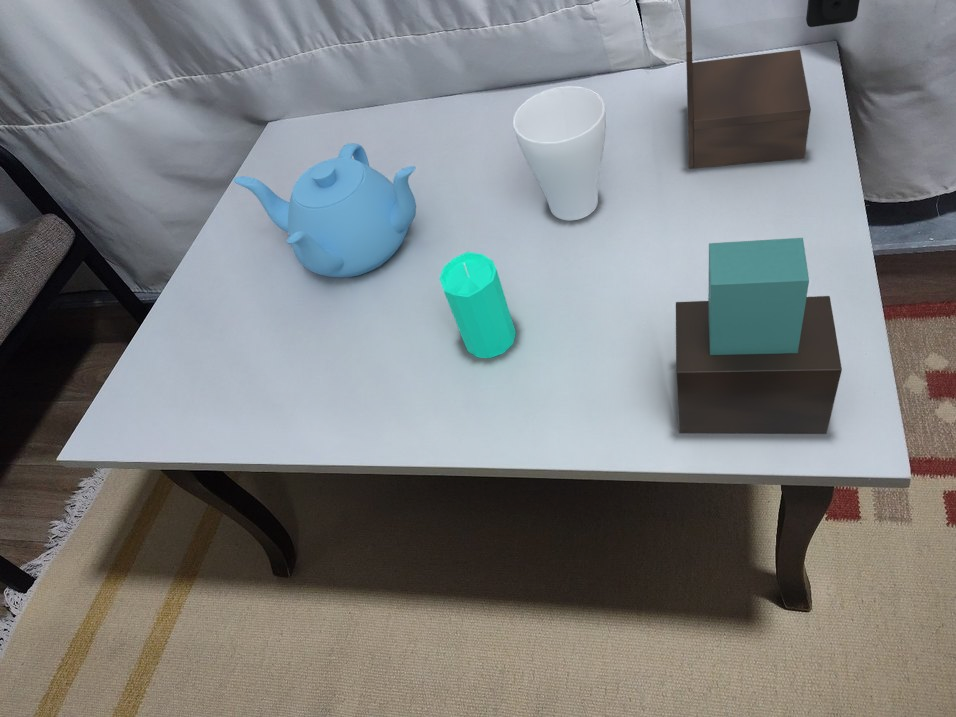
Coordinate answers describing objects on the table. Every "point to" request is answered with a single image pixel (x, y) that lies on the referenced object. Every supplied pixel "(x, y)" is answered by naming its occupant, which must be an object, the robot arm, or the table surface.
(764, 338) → the block
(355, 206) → the teapot
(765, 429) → the dark brown box
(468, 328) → the candle
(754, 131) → the shelf
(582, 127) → the cup
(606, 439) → the table surface
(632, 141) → the table surface
